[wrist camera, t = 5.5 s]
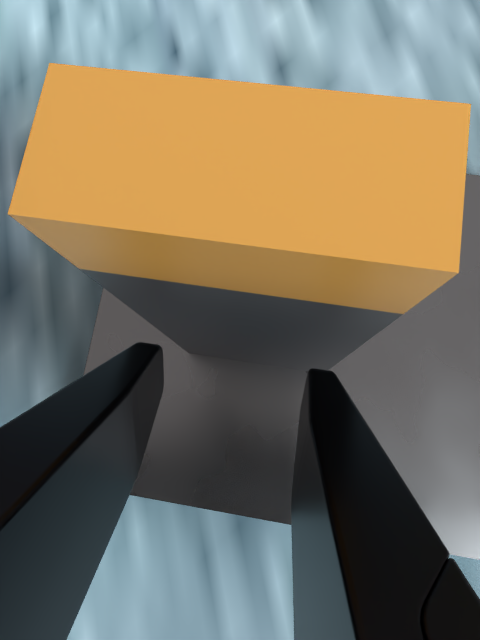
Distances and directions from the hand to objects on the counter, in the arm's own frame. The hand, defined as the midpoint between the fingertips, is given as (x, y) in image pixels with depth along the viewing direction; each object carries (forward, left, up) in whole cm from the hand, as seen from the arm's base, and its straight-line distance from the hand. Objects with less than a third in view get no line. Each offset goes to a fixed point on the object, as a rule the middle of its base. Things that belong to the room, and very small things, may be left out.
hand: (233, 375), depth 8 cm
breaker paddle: (+2, 0, -6) cm, 6 cm away
